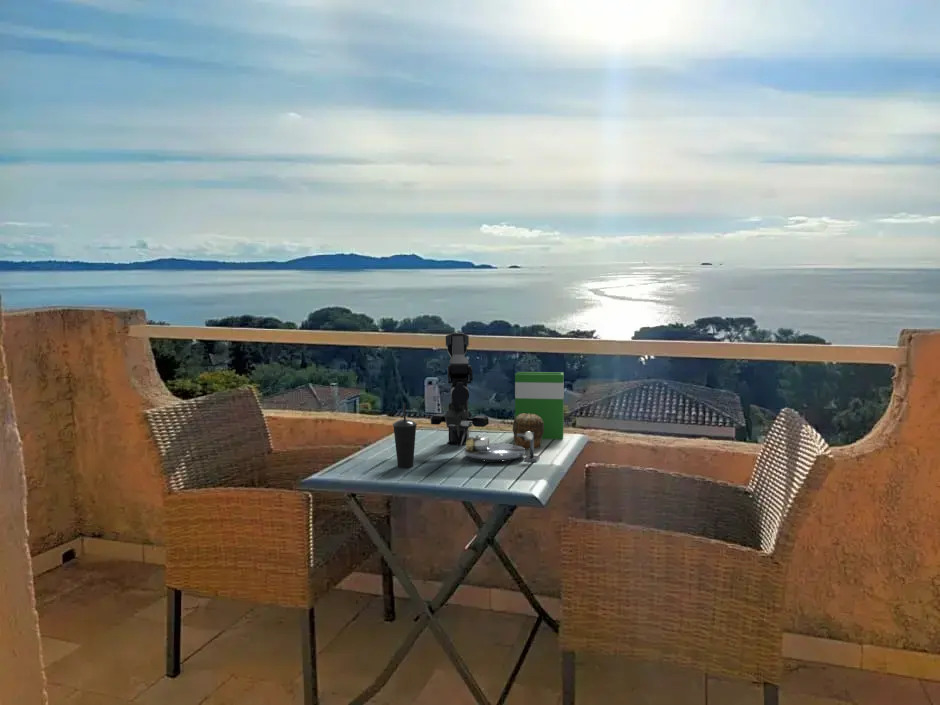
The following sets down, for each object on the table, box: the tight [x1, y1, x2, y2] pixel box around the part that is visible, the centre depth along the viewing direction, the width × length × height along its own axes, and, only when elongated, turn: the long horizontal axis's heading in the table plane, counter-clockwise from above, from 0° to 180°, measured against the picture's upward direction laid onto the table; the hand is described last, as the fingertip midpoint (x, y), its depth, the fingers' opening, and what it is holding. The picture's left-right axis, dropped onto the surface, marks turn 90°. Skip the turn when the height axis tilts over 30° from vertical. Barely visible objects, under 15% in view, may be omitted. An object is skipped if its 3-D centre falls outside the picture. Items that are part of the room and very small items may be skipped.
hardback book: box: [514, 371, 565, 440], centre depth 277 cm, size 18×7×24 cm, turn 81°
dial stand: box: [517, 431, 540, 463], centre depth 240 cm, size 7×5×10 cm
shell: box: [512, 413, 544, 450], centre depth 259 cm, size 11×11×12 cm
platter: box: [464, 438, 526, 461], centre depth 243 cm, size 20×20×5 cm
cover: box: [469, 434, 490, 451], centre depth 245 cm, size 7×7×4 cm
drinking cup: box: [392, 403, 418, 469], centre depth 232 cm, size 8×8×20 cm
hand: (459, 445), depth 247 cm, fingers closed
